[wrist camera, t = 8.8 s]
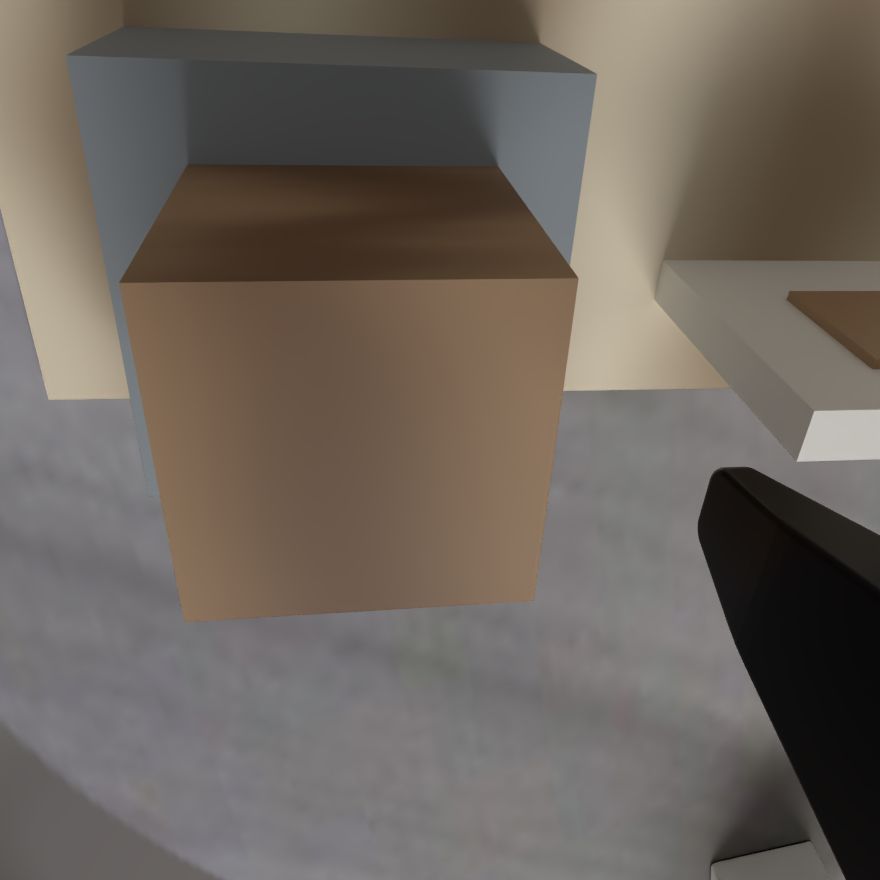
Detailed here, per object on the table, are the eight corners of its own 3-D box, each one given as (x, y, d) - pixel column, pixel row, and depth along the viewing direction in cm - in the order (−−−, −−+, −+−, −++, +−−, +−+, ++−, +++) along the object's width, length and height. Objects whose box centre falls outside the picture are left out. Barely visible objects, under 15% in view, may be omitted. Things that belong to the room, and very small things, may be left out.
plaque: (935, 253, 20) (1194, 392, 14) (917, 299, 20) (1157, 450, 14) (663, 251, 19) (818, 400, 13) (653, 299, 19) (796, 461, 13)
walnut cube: (498, 166, 13) (578, 278, 9) (479, 423, 16) (534, 600, 12) (187, 164, 13) (119, 282, 8) (223, 431, 15) (183, 622, 11)
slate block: (539, 42, 16) (597, 74, 13) (503, 391, 20) (539, 483, 17) (123, 26, 15) (65, 55, 12) (179, 397, 19) (148, 496, 16)
